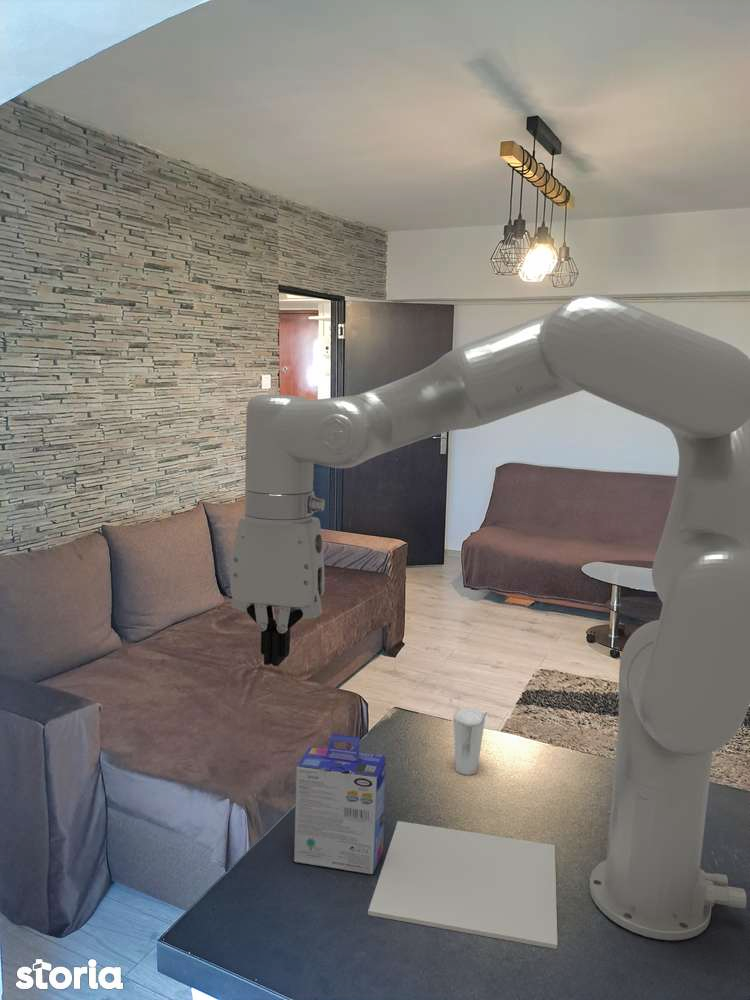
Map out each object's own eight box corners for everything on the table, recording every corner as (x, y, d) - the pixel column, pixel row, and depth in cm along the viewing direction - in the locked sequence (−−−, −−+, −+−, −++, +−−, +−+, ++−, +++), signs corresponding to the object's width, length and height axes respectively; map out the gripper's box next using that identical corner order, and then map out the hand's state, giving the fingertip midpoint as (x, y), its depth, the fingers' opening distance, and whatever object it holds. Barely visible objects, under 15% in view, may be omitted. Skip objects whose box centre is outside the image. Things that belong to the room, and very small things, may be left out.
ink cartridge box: (384, 848, 92) (388, 736, 89) (375, 877, 86) (379, 758, 84) (306, 836, 94) (308, 726, 91) (292, 863, 88) (294, 747, 86)
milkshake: (472, 783, 107) (476, 716, 105) (444, 768, 111) (447, 704, 109) (492, 772, 110) (496, 708, 108) (464, 758, 114) (468, 695, 112)
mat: (554, 848, 92) (554, 845, 92) (557, 949, 76) (557, 944, 76) (397, 824, 96) (397, 820, 96) (368, 914, 80) (368, 910, 80)
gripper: (351, 505, 87) (345, 657, 90) (229, 496, 90) (227, 643, 93) (334, 517, 80) (328, 681, 83) (202, 505, 83) (201, 665, 86)
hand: (275, 661), depth 88 cm, fingers closed
